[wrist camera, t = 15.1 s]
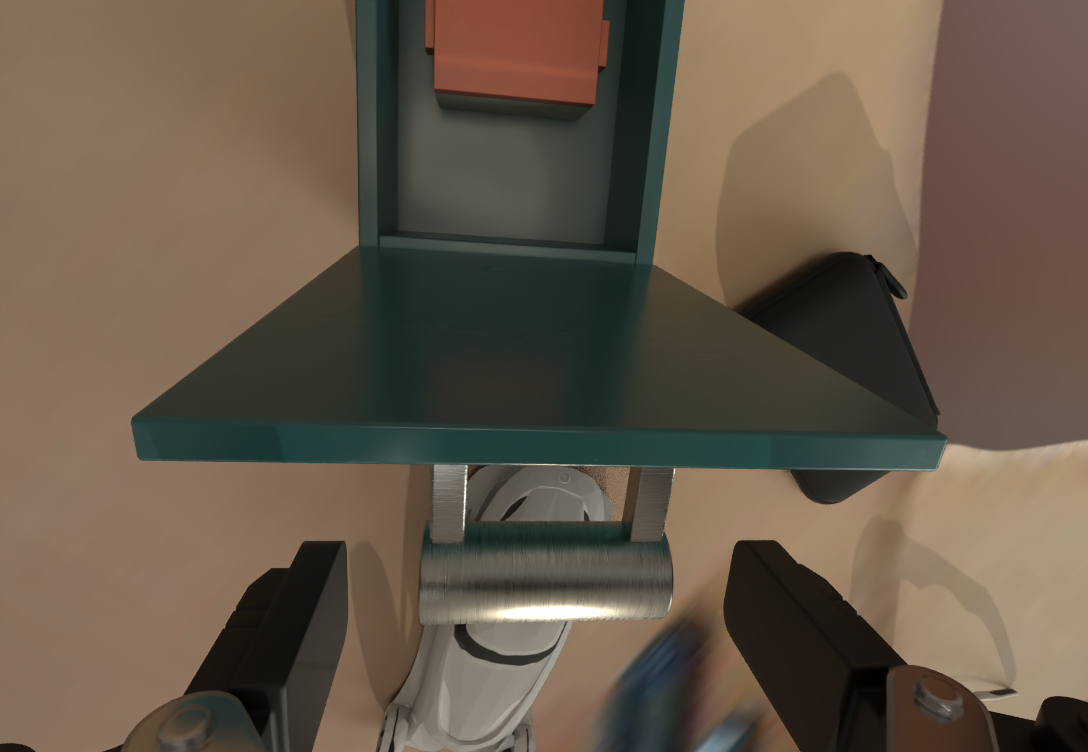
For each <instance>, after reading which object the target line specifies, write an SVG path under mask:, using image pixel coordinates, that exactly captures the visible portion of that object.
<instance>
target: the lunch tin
mask: <svg viewBox="0 0 1088 752" xmlns="http://www.w3.org/2000/svg"><path fill="white" fill-rule="evenodd" d="M684 2H685V0H604V6H603V18H602V20H608V21H610V28H609V40H608V51H607V63H606V67H605V68H604V69H603V70H602V71H601V73H598V79H597V91H596V103H595V105H594V106H593V107H591V108H590V109H589V110H588V111H587V112H586V113H585V114H584V115H582V116H581V117H580V118H579V119H578V120H567V119H556V118H545V117H534V116H524V115H513V114H502V113H492V112H481V111H470V110H459V109H449V108H440V107H439V105H438V101H437V98H436V95H435V91H434V88H433V87H434V55H427V53H426V49H425V0H355V13H356V80H357V147H358V213H359V246H373V247H389V248H404V249H419V250H434V251H450V252H465V253H480V254H495V255H511V256H526V257H541V258H556V259H572V260H587V261H602V262H617V263H633V264H648V265H652V264H653V256H654V248H655V240H656V231H657V223H658V215H659V207H660V199H661V190H662V182H663V174H664V166H665V158H666V149H667V141H668V133H669V125H670V117H671V108H672V100H673V92H674V84H675V76H676V68H677V59H678V51H679V43H680V35H681V27H682V18H683V10H684Z"/></svg>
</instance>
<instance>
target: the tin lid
mask: <svg viewBox="0 0 1088 752" xmlns="http://www.w3.org/2000/svg"><path fill="white" fill-rule="evenodd" d="M131 425H132V430H133V436H134V441H135V446H136V451H137V457H138V458H139V459H140V460H143V461H210V462H283V463H356V464H429V465H430V520H429V521H426V522H425V523H424V526H423V532H422V541H421V552H420V566H419V585H418V621H419V624H421V625H435V624H475V623H515V622H555V621H595V620H635V619H661V618H664V617H665V616H666V615H667V613H668V611H669V609H670V605H671V601H672V594H673V565H672V557H671V552H670V547H669V544H668V540H667V537H666V535H665V532H664V526H665V521H666V515H667V510H668V505H669V499H670V494H671V489H672V483H673V478H674V472H675V468H721V469H794V470H867V471H936V469H937V468H938V466H939V463H940V461H941V458H942V455H943V453H944V450H945V447H946V444H947V442H948V438H947V436H946V435H944V434H942V433H940V432H939V431H937V430H935V429H934V428H932V427H930V426H929V425H927V424H925V423H923V422H922V421H920V420H918V419H917V418H915V417H913V416H911V415H910V414H908V413H906V412H905V411H903V410H901V409H900V408H898V407H896V406H894V405H893V404H891V403H889V402H888V401H886V400H884V399H882V398H881V397H879V396H877V395H876V394H874V393H872V392H871V391H869V390H867V389H865V388H864V387H862V386H860V385H859V384H857V383H855V382H854V381H852V380H850V379H848V378H847V377H845V376H843V375H842V374H840V373H838V372H836V371H835V370H833V369H831V368H830V367H828V366H826V365H825V364H823V363H821V362H819V361H818V360H816V359H814V358H813V357H811V356H809V355H807V354H806V353H804V352H802V351H801V350H799V349H797V348H796V347H794V346H792V345H790V344H789V343H787V342H785V341H784V340H782V339H780V338H779V337H777V336H775V335H773V334H772V333H770V332H768V331H767V330H765V329H763V328H761V327H760V326H758V325H756V324H755V323H753V322H751V321H750V320H748V319H746V318H744V317H743V316H741V315H739V314H738V313H736V312H734V311H732V310H731V309H729V308H727V307H726V306H724V305H722V304H721V303H719V302H717V301H715V300H714V299H712V298H710V297H709V296H707V295H705V294H703V293H702V292H700V291H698V290H697V289H695V288H693V287H692V286H690V285H688V284H686V283H685V282H683V281H681V280H680V279H678V278H676V277H675V276H673V275H671V274H669V273H668V272H666V271H664V270H663V269H661V268H659V267H657V266H656V265H648V264H633V263H617V262H602V261H587V260H572V259H556V258H541V257H526V256H511V255H495V254H480V253H465V252H450V251H434V250H419V249H404V248H389V247H373V246H356V247H355V248H354V249H352V250H351V251H350V252H348V253H347V254H346V255H344V256H343V257H342V258H340V259H339V260H338V261H337V262H335V263H334V264H333V265H331V266H330V267H329V268H327V269H326V270H325V271H323V272H322V273H321V274H319V275H318V276H317V277H316V278H314V279H313V280H312V281H310V282H309V283H308V284H306V285H305V286H304V287H302V288H301V289H300V290H298V291H297V292H296V293H295V294H293V295H292V296H291V297H289V298H288V299H287V300H285V301H284V302H283V303H281V304H280V305H279V306H277V307H276V308H275V309H274V310H272V311H271V312H270V313H268V314H267V315H266V316H264V317H263V318H262V319H260V320H259V321H258V322H256V323H255V324H254V325H253V326H251V327H250V328H249V329H247V330H246V331H245V332H243V333H242V334H241V335H239V336H238V337H237V338H235V339H234V340H233V341H231V342H230V343H229V344H228V345H226V346H225V347H224V348H222V349H221V350H220V351H218V352H217V353H216V354H214V355H213V356H212V357H210V358H209V359H208V360H207V361H205V362H204V363H203V364H201V365H200V366H199V367H197V368H196V369H195V370H193V371H192V372H191V373H189V374H188V375H187V376H186V377H184V378H183V379H182V380H180V381H179V382H178V383H176V384H175V385H174V386H172V387H171V388H170V389H168V390H167V391H166V392H165V393H163V394H162V395H161V396H159V397H158V398H157V399H155V400H154V401H153V402H151V403H150V404H149V405H147V406H146V407H145V408H144V409H142V410H141V411H140V412H138V413H137V414H136V415H134V416H133V417H132V420H131ZM469 465H502V466H575V467H630V473H629V479H628V485H627V492H626V498H625V505H624V511H623V518H622V521H466V516H467V492H468V468H469Z"/></svg>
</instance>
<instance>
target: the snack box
mask: <svg viewBox="0 0 1088 752" xmlns="http://www.w3.org/2000/svg"><path fill="white" fill-rule="evenodd" d="M603 6H604V0H425V49H426V53H427V55H434V87H433V88H434V91H435V95H436V98H437V101H438V105H439V107H440V108H449V109H459V110H470V111H481V112H492V113H502V114H513V115H524V116H534V117H545V118H556V119H567V120H578V119H579V118H580V117H581V116H582V115H584V114H585V113H586V112H587V111H588V110H589V109H590V108H591V107H593V106H594V105H595V103H596V91H597V79H598V73H601V71H602V70H603V69H604V68H605V67H606V63H607V51H608V40H609V28H610V21H608V20H602V18H603Z"/></svg>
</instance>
